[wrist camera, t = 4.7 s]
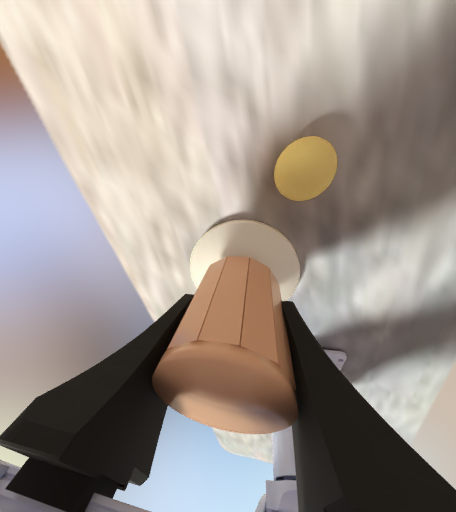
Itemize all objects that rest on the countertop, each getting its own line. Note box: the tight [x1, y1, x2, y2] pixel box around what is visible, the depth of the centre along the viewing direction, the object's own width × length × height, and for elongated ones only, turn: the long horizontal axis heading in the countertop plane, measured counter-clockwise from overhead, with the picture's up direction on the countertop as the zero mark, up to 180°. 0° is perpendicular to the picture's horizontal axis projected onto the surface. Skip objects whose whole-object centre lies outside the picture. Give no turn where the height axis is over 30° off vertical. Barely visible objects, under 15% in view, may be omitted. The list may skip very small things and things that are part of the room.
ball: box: [274, 136, 338, 201], centre depth 9 cm, size 3×3×3 cm
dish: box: [190, 219, 300, 301], centre depth 14 cm, size 9×9×1 cm
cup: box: [152, 256, 298, 434], centre depth 9 cm, size 6×6×7 cm
